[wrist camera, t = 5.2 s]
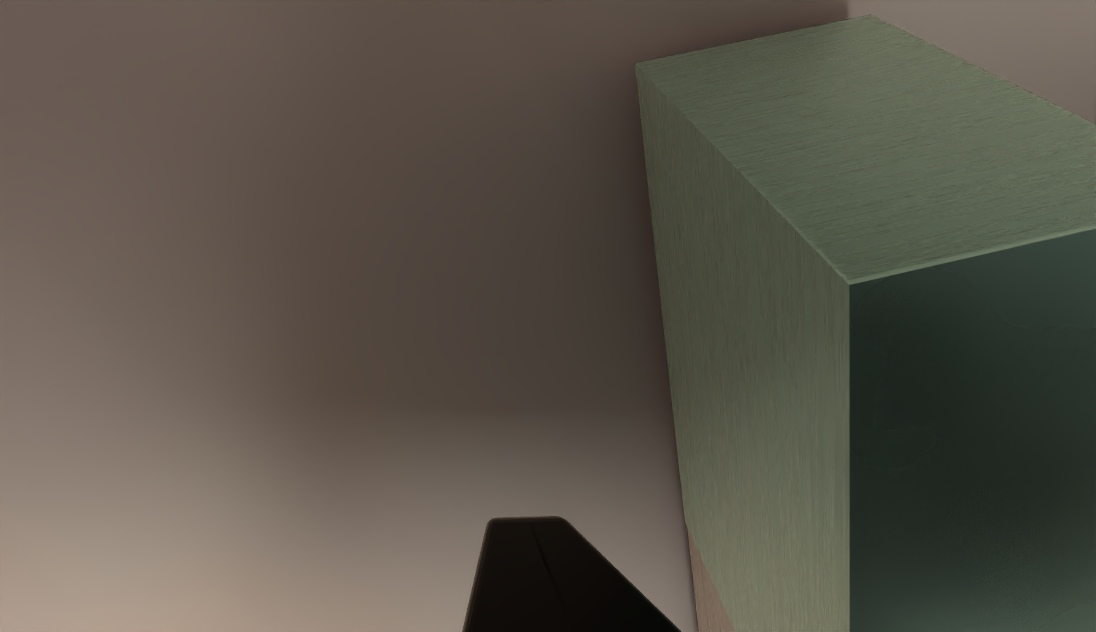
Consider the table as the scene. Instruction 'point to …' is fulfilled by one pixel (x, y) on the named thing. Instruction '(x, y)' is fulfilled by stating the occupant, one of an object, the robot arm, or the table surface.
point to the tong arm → (876, 334)
